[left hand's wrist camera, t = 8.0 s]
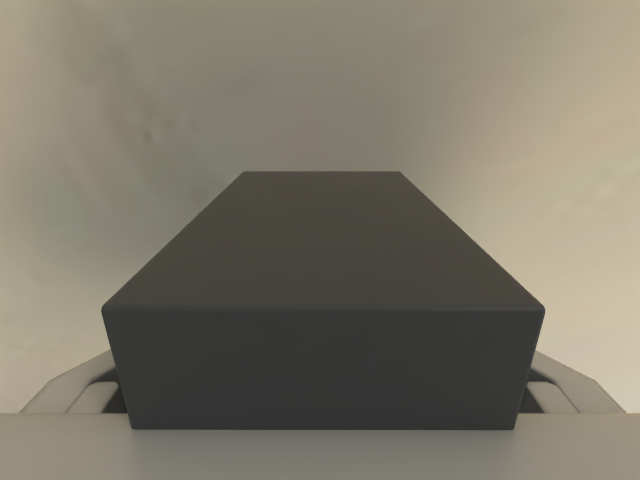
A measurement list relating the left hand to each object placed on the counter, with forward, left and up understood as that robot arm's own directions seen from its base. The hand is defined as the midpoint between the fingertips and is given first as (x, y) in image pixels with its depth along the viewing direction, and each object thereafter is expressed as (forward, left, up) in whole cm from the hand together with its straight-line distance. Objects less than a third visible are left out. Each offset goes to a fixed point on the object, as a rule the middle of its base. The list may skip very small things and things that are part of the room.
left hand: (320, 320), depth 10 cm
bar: (+9, 0, -3) cm, 10 cm away
